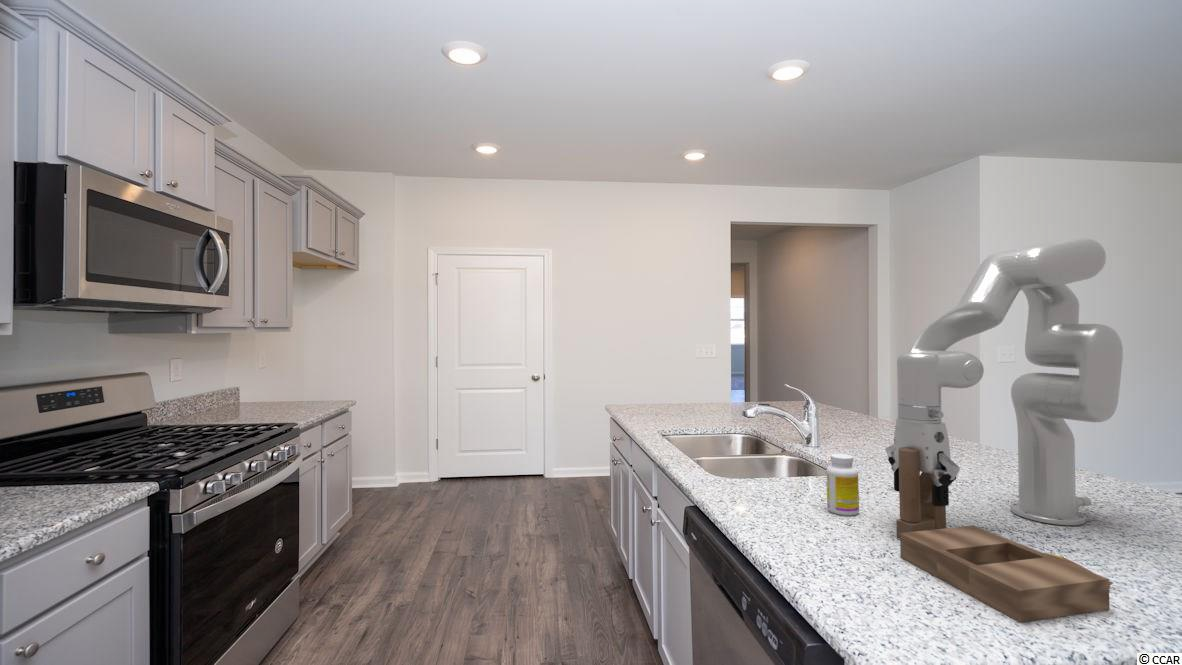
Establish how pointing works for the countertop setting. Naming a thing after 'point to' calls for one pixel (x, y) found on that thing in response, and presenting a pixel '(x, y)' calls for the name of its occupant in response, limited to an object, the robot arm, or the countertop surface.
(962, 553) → the slotted crossbeam
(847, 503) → the supplement bottle
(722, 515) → the countertop surface
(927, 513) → the wooden block
